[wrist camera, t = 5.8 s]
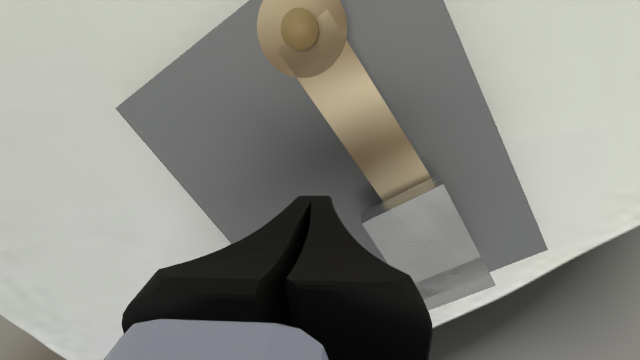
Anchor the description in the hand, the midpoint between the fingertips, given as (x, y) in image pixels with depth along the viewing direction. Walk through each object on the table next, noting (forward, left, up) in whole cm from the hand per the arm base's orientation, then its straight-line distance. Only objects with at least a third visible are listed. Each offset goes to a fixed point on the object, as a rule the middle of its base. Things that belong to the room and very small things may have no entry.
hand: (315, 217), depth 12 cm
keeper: (+3, -8, -8) cm, 12 cm away
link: (+3, +1, -8) cm, 9 cm away
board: (0, -2, -9) cm, 10 cm away
